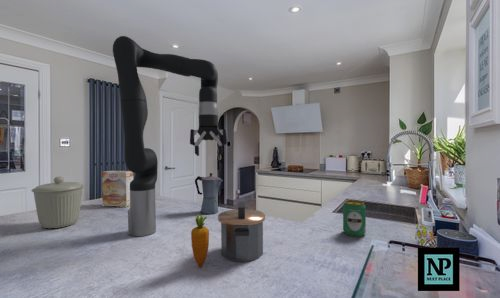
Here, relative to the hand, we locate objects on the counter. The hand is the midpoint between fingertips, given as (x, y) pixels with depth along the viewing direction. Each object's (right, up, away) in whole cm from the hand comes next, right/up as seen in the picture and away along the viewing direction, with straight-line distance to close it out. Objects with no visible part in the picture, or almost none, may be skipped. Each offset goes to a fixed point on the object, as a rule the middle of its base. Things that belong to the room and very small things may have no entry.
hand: (208, 155), depth 100 cm
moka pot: (-5, -30, +29) cm, 41 cm away
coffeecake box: (-58, -30, +44) cm, 79 cm away
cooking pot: (+14, -31, -19) cm, 38 cm away
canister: (-66, -31, +10) cm, 73 cm away
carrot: (+2, -31, -28) cm, 42 cm away
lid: (+14, -20, -19) cm, 31 cm away
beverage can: (+56, -30, -3) cm, 64 cm away
